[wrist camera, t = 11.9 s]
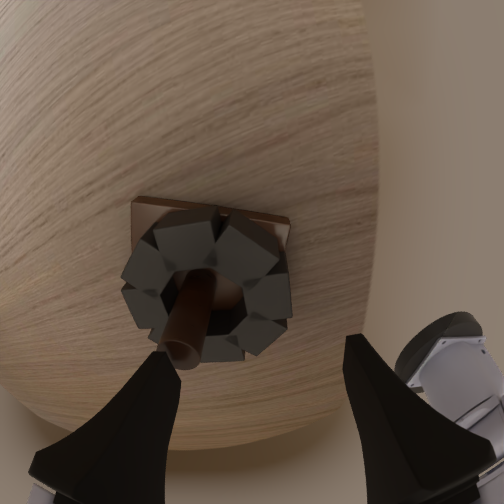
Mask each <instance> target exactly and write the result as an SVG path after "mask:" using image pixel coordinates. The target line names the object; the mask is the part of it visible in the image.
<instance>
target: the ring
mask: <svg viewBox="0 0 504 504" xmlns="http://www.w3.org/2000/svg"><path fill="white" fill-rule="evenodd" d="M203 268H211V269H213V270H214V271H216V272H218V273H219V274H221V275H222V276H224V277H226V278H227V279H229V280H230V281H232V282H234V283H235V284H237V285H238V286H240V287H241V288H242V293H243V297H242V299H241V300H240V301H239V302H238V303H237V304H236V305H235V306H234V307H233V308H232V309H230V310H218V311H211V315H210V319H209V324H208V328H207V333H206V337H205V342H204V347H203V351H202V356H201V361H200V363H208V362H231V361H244V360H245V351H246V352H248V353H250V354H253V355H255V356H258V355H259V354H260V353H261V352H262V351H263V350H265V349H266V348H267V347H268V346H269V345H270V344H272V343H273V342H274V341H275V340H276V339H277V338H278V337H279V336H281V335H282V334H283V333H284V332H285V331H286V330H287V320H286V318H292V316H293V315H292V303H291V292H290V282H289V272H288V266H287V261H286V255H285V252H284V251H281V252H279V249H278V242H277V238H276V237H274V236H273V235H271V234H270V233H268V232H267V231H266V230H264V229H263V228H261V227H260V226H258V225H257V224H256V223H254V222H253V221H251V220H250V219H248V218H247V217H246V216H244V215H243V214H241V213H240V212H238V211H237V210H235V209H233V210H232V211H231V212H230V214H229V215H228V216H227V218H226V219H225V220H224V222H223V223H221V218H220V214H219V209H218V206H217V205H214V206H207V207H201V208H195V209H189V210H183V211H178V212H172V213H168V214H166V215H165V217H164V218H163V219H162V220H161V221H160V222H159V223H157V222H154V223H153V225H152V226H151V227H150V228H149V229H148V230H147V231H146V232H145V233H144V235H143V236H142V237H141V238H140V239H139V241H138V243H137V245H136V247H135V249H134V251H133V253H132V255H131V257H130V258H129V260H128V262H127V265H126V267H125V269H124V271H123V273H122V275H121V278H122V279H123V280H125V281H126V284H125V285H124V286H123V288H122V289H121V292H122V294H123V297H124V299H125V301H126V303H127V305H128V308H129V310H130V312H131V314H132V316H133V318H134V320H135V322H136V324H137V326H138V328H139V329H150V328H152V329H151V331H150V334H149V336H148V339H150V340H152V341H153V342H155V343H157V344H158V343H159V341H160V338H161V335H162V333H163V330H164V328H165V325H166V323H167V320H168V318H169V315H170V313H171V310H172V308H173V305H174V303H175V300H176V298H177V296H178V291H177V288H176V285H175V282H174V279H173V275H174V273H175V272H177V271H185V270H194V269H203Z"/></svg>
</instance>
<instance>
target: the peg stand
mask: <svg viewBox="0 0 504 504" xmlns="http://www.w3.org/2000/svg"><path fill="white" fill-rule="evenodd" d="M207 206H212V205H205V204H198V203H191V202H183V201H176V200H168V199H160V198H151V197H143V196H138V197H137V198H135V199H134V200H133V201H131V244H132V253H133V251H134V249H135V247H136V245H137V243H138V241H139V239H140V238H141V237H142V236H143V235H144V233H145V232H146V231H147V230H148V229H149V228H150V227H151V226H152V225H153V223H154V222H157V223H159V222H160V221H161V220H162V219H163V218H164V217H165V215H166V214H168V213H172V212H178V211H183V210H189V209H195V208H201V207H207ZM218 209H219V214H220V218H221V223H223V222H224V220H225V219H226V218H227V216H228V215H229V214H230V212H231V211H232V210H233V209H232V208H226V207H219V206H218ZM235 210H237V211H238V212H240V213H241V214H243V215H244V216H246V217H247V218H248V219H250V220H251V221H253V222H254V223H256V224H257V225H258V226H260V227H261V228H263V229H264V230H266V231H267V232H268V233H270V234H271V235H273V236H274V237H276V238H277V242H278V249H279V252H281V251H284V252H285V249H286V244H287V240H288V236H289V232H290V227H291V224H290V221H289V218H287V217H281V216H276V215H270V214H264V213H258V212H251V211H245V210H239V209H235ZM173 279H174V282H175V285H176V288H177V291H178V296H177V298H176V300H175V303H174V305H173V308H172V310H171V313H170V315H169V318H168V320H167V323H166V325H165V328H164V330H163V333H162V335H161V338H160V341H159V343H158V346H157V351H166V353H167V355H168V357H169V359H170V361H171V363H172V365H173V367H174V368H175V369H179V370H190V369H193V368H195V367H197V366H198V365H199V363H200V361H201V356H202V351H203V347H204V342H205V337H206V333H207V328H208V324H209V319H210V315H211V311H218V310H230V309H232V308H233V307H234V306H235V305H236V304H237V303H238V302H239V301H240V300H241V299H242V297H243V293H242V288H241V287H240V286H238V285H237V284H235V283H234V282H232V281H230V280H229V279H227V278H226V277H224V276H222V275H221V274H219V273H218V272H216V271H214V270H213V269H211V268H203V269H194V270H185V271H177V272H175V273H174V275H173Z"/></svg>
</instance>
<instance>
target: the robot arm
mask: <svg viewBox="0 0 504 504" xmlns="http://www.w3.org/2000/svg"><path fill="white" fill-rule="evenodd" d="M485 340H486V336H465V337H440V338H438V339H437V340H436V342H435V343H434V345H433V346H432V348H431V349H430V351H429V352H428V354H427V355H426V357H425V358H424V359H423V361H422V362H421V364H420V365H419V366H418V368H417V369H416V370H415V372H414V373H413V374H412V375H411V377H410V378H409V379H408V381H407V382H406V383H404V382H403V381H402V380H401V379H400V378H399V377H398V376H397V375H396V374H395V373H394V371H393V370H392V369H391V368H390V367H389V366H388V365H387V364H386V363H385V361H384V360H383V359H382V358H381V357H380V355H379V354H378V353H377V352H376V351H375V349H374V348H373V347H372V346H371V345H370V343H369V342H368V341H367V339H366V338H365V337H364V335H363V334H361V333H360V334H355V335H349V336H346V343H345V352H344V361H343V374H344V380H345V385H346V391H347V394H348V397H349V400H350V404H351V407H352V411H353V414H354V418H355V421H356V424H357V428H358V431H359V435H360V439H361V444H362V451H363V458H364V465H365V475H366V486H367V504H504V461H503V462H501V463H500V464H499V465H497V466H496V467H494V468H493V469H491V470H490V471H488V472H487V473H485V474H484V475H482V476H481V477H479V476H478V475H479V474H480V473H482V472H483V471H485V470H487V469H488V468H489V467H491V466H493V465H494V464H495V463H497V462H498V461H499V460H501V459H502V458H504V376H503V374H502V373H501V371H500V369H499V368H498V366H497V364H496V363H495V361H494V360H493V358H492V357H491V355H490V354H489V352H488V351H487V349H486V348H485V346H484V345H483V343H484V342H485ZM419 386H422V387H423V389H424V392H425V394H426V396H427V399H428V401H429V404H430V405H429V404H427V403H426V402H425V401H424V400H423V399H421V398H420V397H419V396H418V395H417V394H416V393H415V392H413V391H412V390H411V389H410V387H419ZM180 389H181V380H180V378H179V376H178V374H177V372H176V370H175V368H174V367H173V365H172V363H171V361H170V359H169V357H168V355H167V353H166V351H153V352H152V353H151V354H150V355H149V356H148V358H147V359H146V360H145V361H144V363H143V364H142V365H141V366H140V367H139V369H138V370H137V371H136V372H135V373H134V375H133V376H132V377H131V378H130V379H129V381H128V382H127V383H126V384H125V385H124V386H123V388H122V389H121V390H120V391H119V392H118V393H117V394H116V395H115V396H114V397H113V398H112V399H111V401H110V402H109V403H108V404H107V405H106V406H105V407H104V408H103V409H102V410H101V411H99V412H98V413H97V414H96V415H95V416H94V417H93V418H91V419H90V420H89V421H88V422H86V423H85V424H84V425H82V426H81V427H80V428H78V429H77V430H76V431H74V432H73V433H71V434H70V435H68V436H67V437H65V438H63V439H62V440H60V441H58V442H57V443H55V444H53V445H51V446H49V447H46V448H44V449H42V450H40V451H37V452H36V454H35V456H34V458H33V461H32V464H31V466H30V469H29V471H28V473H29V475H31V476H32V477H34V478H35V479H37V480H38V481H40V482H42V483H43V484H45V485H47V486H48V487H50V488H52V489H53V490H55V491H56V494H55V495H54V494H53V493H51V492H49V491H47V490H46V489H44V488H42V487H40V486H39V485H37V484H35V483H34V484H33V486H32V489H31V492H30V495H29V498H28V502H27V504H165V469H166V459H167V451H168V445H169V441H170V437H171V433H172V429H173V425H174V421H175V417H176V413H177V408H178V404H179V398H180Z"/></svg>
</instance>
